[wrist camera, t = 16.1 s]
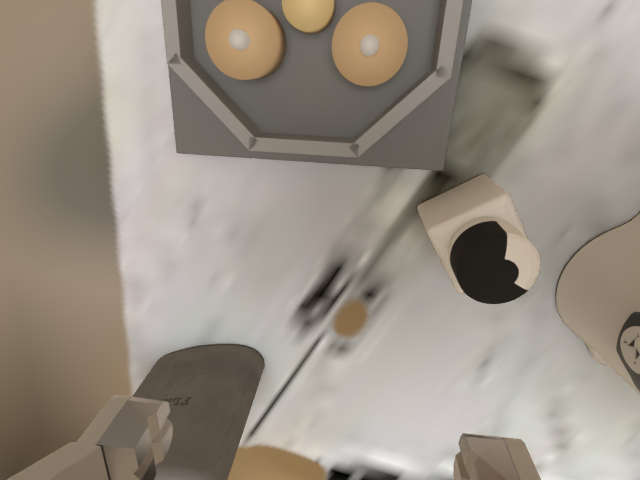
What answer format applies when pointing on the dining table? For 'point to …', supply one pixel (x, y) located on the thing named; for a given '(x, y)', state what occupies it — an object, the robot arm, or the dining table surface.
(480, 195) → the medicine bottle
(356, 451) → the dining table surface
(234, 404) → the flask
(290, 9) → the grey octagonal tray
